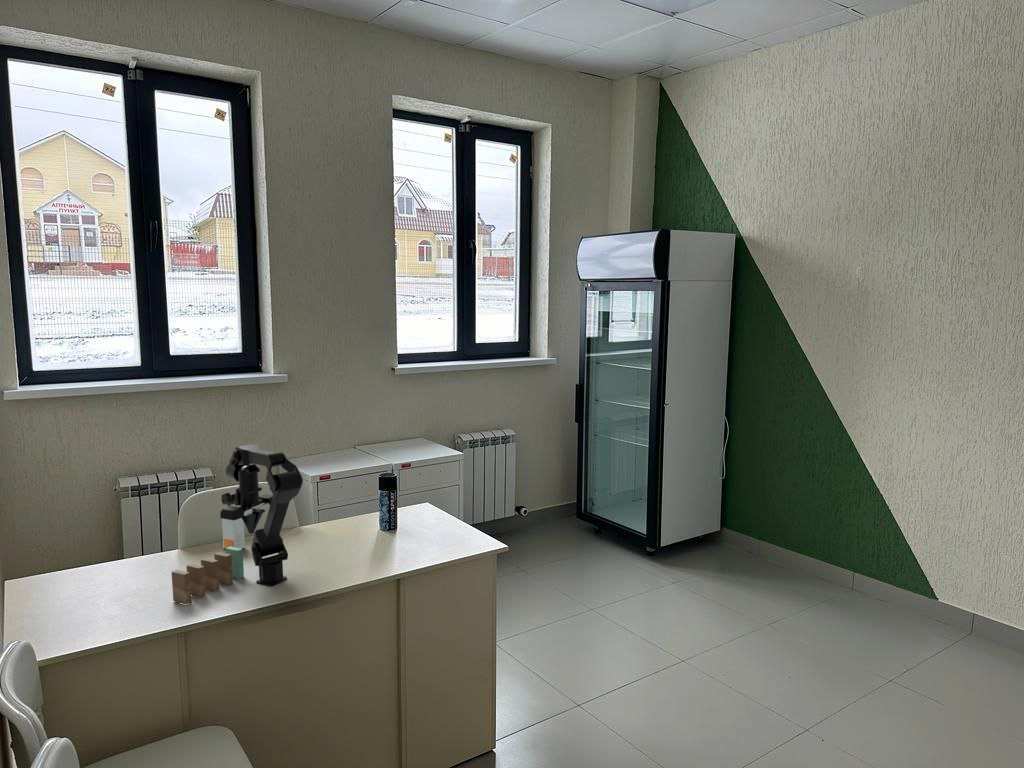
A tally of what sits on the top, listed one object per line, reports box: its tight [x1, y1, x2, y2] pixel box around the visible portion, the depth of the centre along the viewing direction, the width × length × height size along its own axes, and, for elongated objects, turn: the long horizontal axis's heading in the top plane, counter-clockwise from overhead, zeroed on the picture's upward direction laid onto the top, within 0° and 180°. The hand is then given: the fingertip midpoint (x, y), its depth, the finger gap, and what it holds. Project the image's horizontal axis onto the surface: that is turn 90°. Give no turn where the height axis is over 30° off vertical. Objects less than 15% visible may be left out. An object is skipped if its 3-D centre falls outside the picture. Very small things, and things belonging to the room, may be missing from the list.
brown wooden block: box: [171, 569, 192, 604], centre depth 197 cm, size 2×5×9 cm, turn 65°
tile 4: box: [186, 563, 207, 599], centre depth 202 cm, size 2×5×9 cm, turn 65°
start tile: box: [225, 546, 245, 580], centre depth 216 cm, size 2×5×9 cm, turn 65°
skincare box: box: [221, 518, 246, 550], centre depth 240 cm, size 6×4×12 cm
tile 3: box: [200, 557, 221, 593], centre depth 206 cm, size 2×5×9 cm, turn 65°
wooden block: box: [213, 551, 234, 586], centre depth 211 cm, size 2×5×9 cm, turn 65°
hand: (251, 533), depth 220 cm, fingers closed
